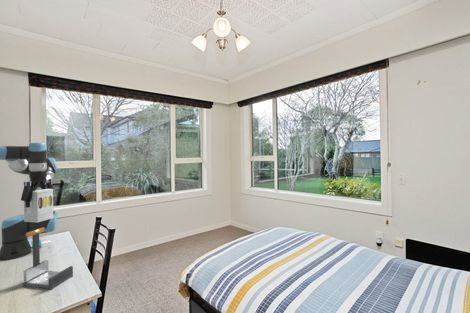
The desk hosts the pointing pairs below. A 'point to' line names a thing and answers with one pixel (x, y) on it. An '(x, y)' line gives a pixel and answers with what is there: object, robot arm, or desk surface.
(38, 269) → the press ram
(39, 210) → the supplement box
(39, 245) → the tablet
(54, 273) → the press bed
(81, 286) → the desk surface
